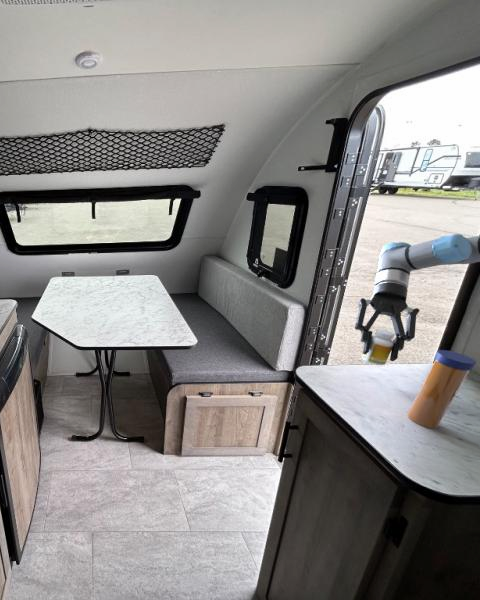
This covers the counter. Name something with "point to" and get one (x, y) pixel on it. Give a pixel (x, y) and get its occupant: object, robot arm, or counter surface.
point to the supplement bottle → (379, 347)
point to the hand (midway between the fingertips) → (379, 355)
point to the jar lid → (455, 360)
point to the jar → (436, 394)
